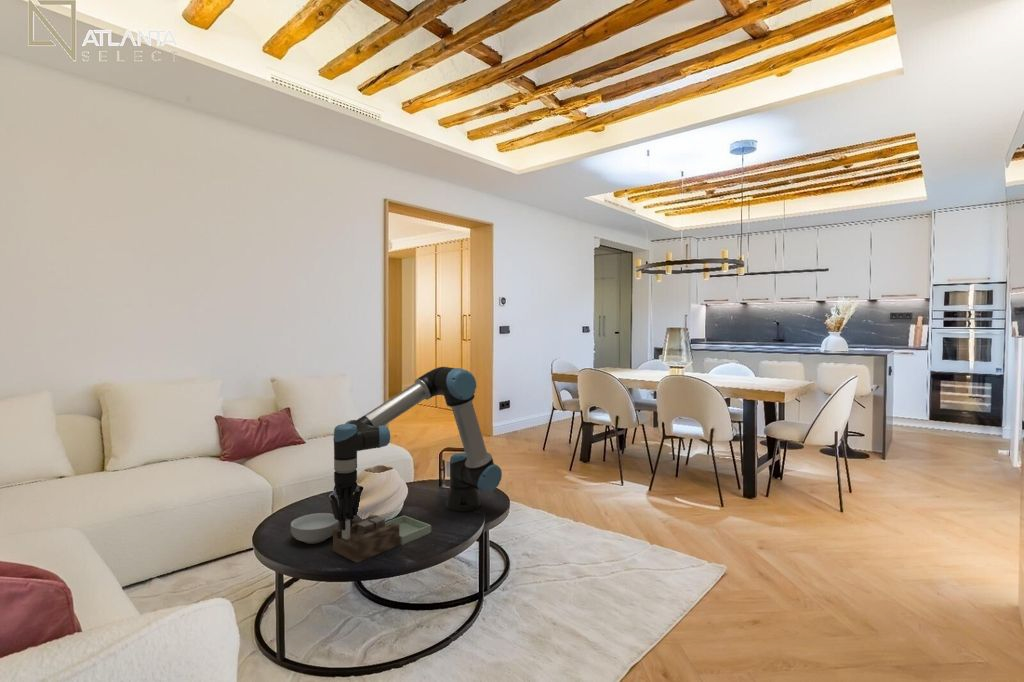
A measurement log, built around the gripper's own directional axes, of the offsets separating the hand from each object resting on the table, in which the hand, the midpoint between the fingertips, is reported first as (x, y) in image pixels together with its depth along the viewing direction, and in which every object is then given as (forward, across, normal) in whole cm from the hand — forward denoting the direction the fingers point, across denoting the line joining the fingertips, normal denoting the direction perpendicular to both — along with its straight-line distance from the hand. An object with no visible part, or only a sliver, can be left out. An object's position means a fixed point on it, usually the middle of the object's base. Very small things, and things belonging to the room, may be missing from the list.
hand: (346, 538), depth 177 cm
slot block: (+6, -8, 0) cm, 11 cm away
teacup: (+7, -21, -25) cm, 33 cm away
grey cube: (+1, -13, 0) cm, 13 cm away
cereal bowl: (+7, -1, -21) cm, 22 cm away
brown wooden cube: (+1, -8, 0) cm, 8 cm away
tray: (+6, -25, 0) cm, 26 cm away
